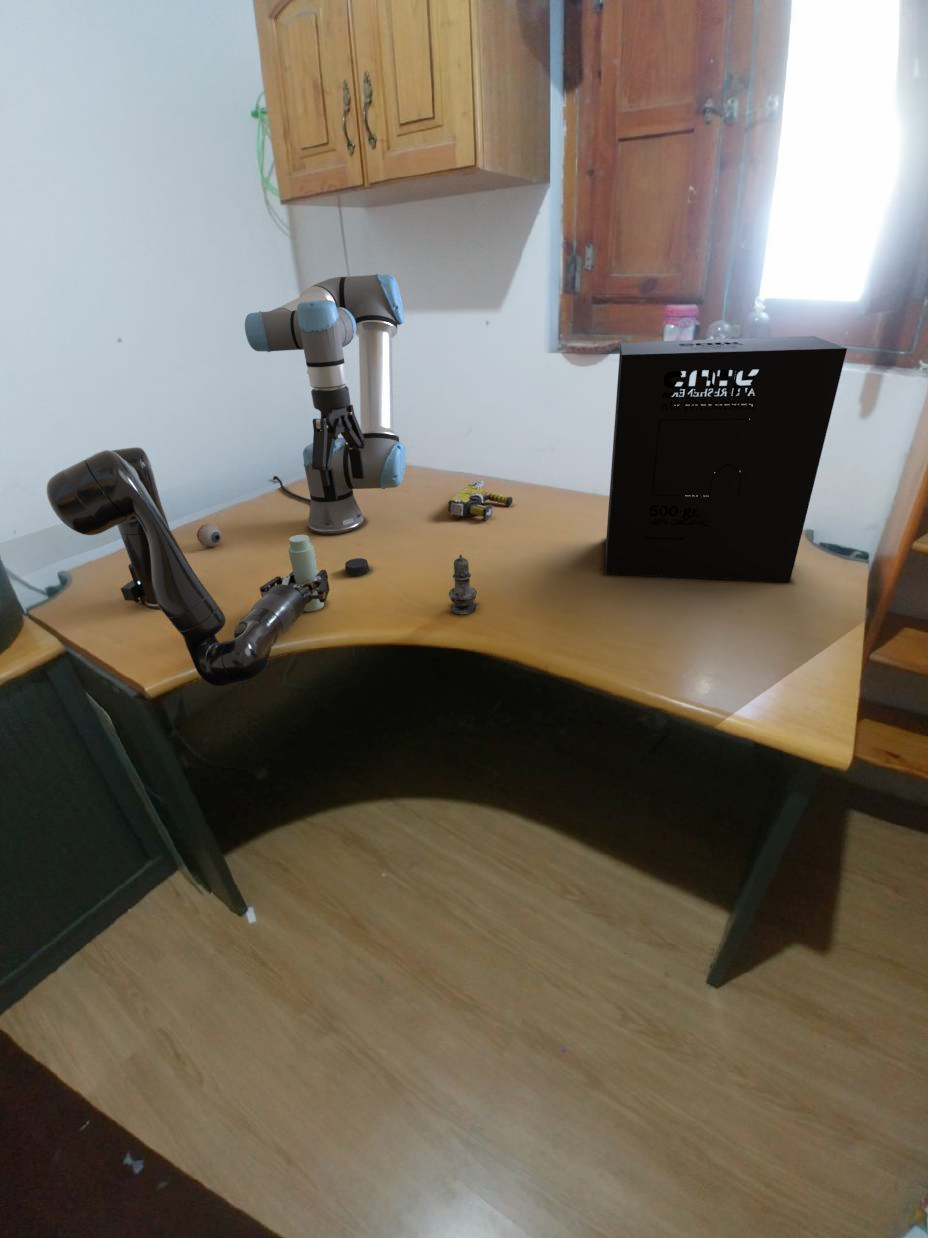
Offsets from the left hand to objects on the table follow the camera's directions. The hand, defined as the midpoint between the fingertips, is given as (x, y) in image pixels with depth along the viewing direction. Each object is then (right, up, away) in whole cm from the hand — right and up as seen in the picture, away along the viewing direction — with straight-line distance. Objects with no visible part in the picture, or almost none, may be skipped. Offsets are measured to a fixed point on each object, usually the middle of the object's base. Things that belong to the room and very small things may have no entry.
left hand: (311, 573), depth 127 cm
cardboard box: (+84, +4, +11) cm, 85 cm away
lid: (+7, +3, +14) cm, 16 cm away
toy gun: (+38, +23, +49) cm, 66 cm away
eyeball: (-35, +10, +33) cm, 49 cm away
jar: (0, -7, +1) cm, 7 cm away
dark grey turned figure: (+32, -8, -3) cm, 33 cm away
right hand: (+6, +19, +6) cm, 21 cm away
